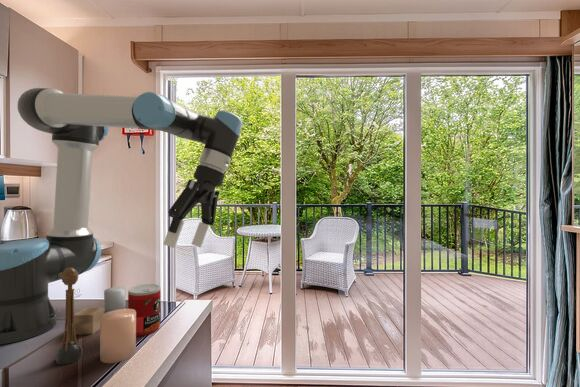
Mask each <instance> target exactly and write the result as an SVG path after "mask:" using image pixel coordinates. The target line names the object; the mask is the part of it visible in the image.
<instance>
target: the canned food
mask: <svg viewBox="0 0 580 387" xmlns="http://www.w3.org/2000/svg"><path fill="white" fill-rule="evenodd" d="M161 300H162V299H161V286H160V285H159V284H155V283H146V284H139V285H138V284H137V285H134V286H132V287H130V288H129V289H128V293H127V309H134V310H135V311H136V336H147V335H150V334H152V333H155V332H157V331H158V330H160V329H159V328H160V326H161Z"/></svg>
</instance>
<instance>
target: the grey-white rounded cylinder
mask: <svg viewBox="0 0 580 387" xmlns="http://www.w3.org/2000/svg"><path fill="white" fill-rule="evenodd" d="M126 290H127V289H126V287H125V286H112V287H109V288H105V289H104V290H103V297H104V299H103V307H104V314H105V313H107V312H110V311H113V310H118V309H126V300H127V298H126Z"/></svg>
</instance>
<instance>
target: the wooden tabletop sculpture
mask: <svg viewBox="0 0 580 387" xmlns="http://www.w3.org/2000/svg"><path fill="white" fill-rule="evenodd" d="M58 277H60V278H62V279H61V282H62V283H63V285H64V286H67V289H65V320H64V321H65V322H64V331H63V338H62V344H61V347H60V348H59V350H58V352H57V354H56V356H55V357H56V358H55V363H56V364H57V365H69V364H72V363H75V362H77V361H78V360H80V359H81V358H83V356H84V349H83V346H82V345H81V344H80V343H78V341H77V334H75V326H74V313H75V311H74V310H75V307H74V306H75V303H74V302H75V301H74V300H75V298H74V297H75V296H74V295H75V288H73V286H74V285H75V284H76V283H77V282H78V279H79V275H78V273H77V271H76V270H75V269H74V268H67V269H65V270H64V271H63V273H59V274H58ZM65 341H66V342H65Z"/></svg>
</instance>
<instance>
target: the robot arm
mask: <svg viewBox="0 0 580 387" xmlns="http://www.w3.org/2000/svg"><path fill="white" fill-rule="evenodd" d="M19 96H20V97H19V98H18V100H17V111H18V113H19V116H20V118H21V119H22V120H23V122H25V123H26V124H27V125H29V126H30V127H31V128H33V129H36V130H38V131H40V132H43V133H47V134H51V143H53V145H55V146H56V148H57V159H56V160H57V161H56V176H55V178H56V179H55V192H54V194H55V195H54V210H53V211H54V212H53V225H52V226H53V227H52V228H51V229H50V230H49V231H47V232H46V237H45V238H43V237H42V238H41V237H34V238H24V239H19V240H18V239H17V240H13V241H8V242H4V243H3V244H0V345H6V344H10V343H12V344H13V343H16V342H21V341H24V340H25V341H26V340H27V339H30V338H33V337H36V336H38V335H42V334H43V333H46V332H48V331H49V330H51V329H52V328H54V327H55V326H56V324H57V313H56V312H55V309H54V306H53V304H52V302H51V299H50V297H49V284H51V283H53V282H57V281H60V280H61V281H62V278H60V277H58V274H59V273H63V271H64V270H65V269H67V268H74V269H75V270H76V271H77V273H78V276H80V275H81V274H84V273H86V272H90V270H92V269H93V268H95V266H97V264H98V263H99V261H100V258H101V255H102V246H101V243H99V240H98V238H96V237H95V236H94V231H93V230H92V229H91V228H89V215H90V214H89V213H90V198H91V185H92V184H91V182H92V180H91V179H92V168H93V166H92V165H93V152H94V151H96V149H98V148H99V145H100V142H102V141H103V140H104V139H105V138H106V136H108V134H109V128H124V129H136V130H137V129H139V130H147V131H149V130H150V131H160V132H165V133H167V134H170V135H173V136H176V137H177V138H181V139H184V140H185V139H186V140H189V141H194V142H197V143H199V144H200V143H202V144H203V145H204V146H203V149H202V152H201V155H200V156H199V157H200V158H199V160H198V163H199V164H198V165H197V166H196V168H195V172H194V173H193V178H194V179H195V180H196V181H195V180H193V179H188V181H187V183H186V186H185V187H184V189H183V190H182V192H181V193H180V195H179V196H178V198H176V199H175V202H174V203H173V204H172V205H171V207H170V209H169V210H168V211H167V212H168V213H167V214H168V216H169V217H170V218H172V219H171V222H170V225H169V228H168V231H167V233H166V236H165V238H164V241H163V245H164V246H167V247H170V248H172V249H175V248H176V245H177V244H178V240H179V237H180V236H181V235H180V234H181V232H182V229H183V226H184V224H185V221H184V219H185V217H187V216H188V215H189V213H190V212H191V211H192V210H193V209H194V208H195V207H196V206H197V204H200V208H201V209H200V211H201V213H200V214H201V221H200V222H198V226H197V228H196V230H195V233H194V236H193V238H192V242H191V245H193V246H195V247H198V248H202V246H203V244H204V240H205V238H206V235H207V232H208V229H209V226H213V225H214V223H215V221H216V214H217V213H216V212H217V205H218V199H219V196H220V191H219V190H216V187H217V188H219V187H222V185H223V182H224V179H225V175H226V174H225V173H226V172H227V171H228V168H229V165H231V159H232V157H233V153H234V150H235V148H236V145H237V143H238V140H239V138H240V137H241V136H240V135H241V131H242V128H243V126H244V125H243V124H244V123H243V120H242V118H241V117H239V116H238V115H236V114H234V113H232V112H230V111H227V110H218V111H217V112H216V114H215V115H214V117H213V116H207V115H204V114H201V113H197V112H195V111H193V110H191V109H190V108H189V109H188V108H187V107H184V106H183V105H181V104H179V103H177V102H175V101H173V100H171V99H170V98H167V97H166V96H164V95H163V94H158V93H156V92H153V91H146V92H143V93H142V94H139V95H138V96H130V95H129V96H127V95H108V94H107V95H105V94H102V95H101V94H90V93H89V94H87V93H68V92H67V93H66V92H65V93H64V92H63V91H61V90H59V89H56V88H47V87H46V88H45V87H34V88H30V89H27V90H26V91H24V92H23V93H22V94H21V95H19ZM53 326H54V327H53Z"/></svg>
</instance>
